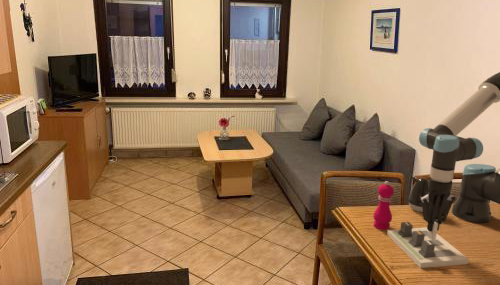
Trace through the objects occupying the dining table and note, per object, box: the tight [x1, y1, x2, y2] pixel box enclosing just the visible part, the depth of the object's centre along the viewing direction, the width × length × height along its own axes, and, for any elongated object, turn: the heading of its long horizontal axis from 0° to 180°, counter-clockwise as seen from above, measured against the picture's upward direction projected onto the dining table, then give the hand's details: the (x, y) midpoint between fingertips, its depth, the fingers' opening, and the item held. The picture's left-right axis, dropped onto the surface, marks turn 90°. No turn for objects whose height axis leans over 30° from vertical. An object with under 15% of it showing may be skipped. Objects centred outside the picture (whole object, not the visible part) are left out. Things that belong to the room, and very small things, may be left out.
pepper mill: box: [372, 180, 395, 231], centre depth 160 cm, size 7×7×20 cm
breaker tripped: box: [409, 231, 425, 246], centre depth 145 cm, size 4×3×5 cm
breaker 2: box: [419, 240, 436, 257], centre depth 138 cm, size 4×3×5 cm
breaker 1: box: [398, 221, 414, 237], centre depth 152 cm, size 4×3×5 cm
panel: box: [386, 226, 469, 269], centre depth 147 cm, size 18×23×2 cm
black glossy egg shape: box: [407, 176, 430, 213], centre depth 177 cm, size 10×10×15 cm
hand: (431, 238), depth 146 cm, fingers closed
